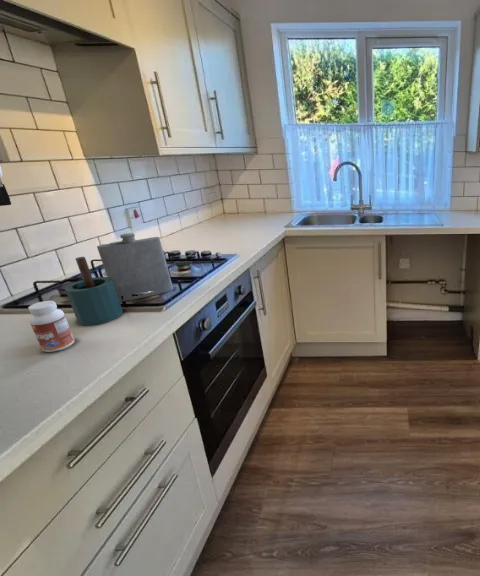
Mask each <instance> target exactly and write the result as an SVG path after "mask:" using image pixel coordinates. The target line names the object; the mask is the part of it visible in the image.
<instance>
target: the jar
mask: <svg viewBox="0 0 480 576" xmlns="http://www.w3.org/2000/svg"><path fill="white" fill-rule="evenodd" d="M92 278H93V281H94V284H95V287H91V288H86V286H85V284H84V281H83V279H81V280H79V281H75V282H72V283H71V284H68V285H67V286H65V288H64V290H65V293H66V296H67V299H68V300H69V303H70V306H71V308H72V311H73V313H74V316H75V318H76V321H77V322H78V324H79V325H81V326H96V325H100V324H104V323H109V322H110V321H113V320H115V319H117V318H119V317H120V316H121V315H122V314H123V312H124V311H123V307H122V304H121V302H120V301H119V298H118V295H117V292H116V289H115V286H114V283H113V280H112V279H111V278H108V277H107V276H98V277H92Z"/></svg>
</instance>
